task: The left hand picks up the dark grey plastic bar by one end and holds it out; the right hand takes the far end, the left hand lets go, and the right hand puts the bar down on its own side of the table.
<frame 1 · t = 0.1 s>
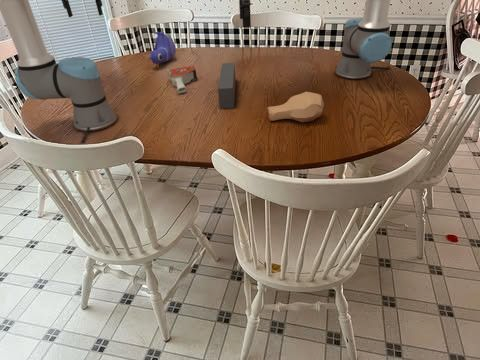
left hand: (86, 15, 157), 28 cm above the table, tool pointing down, fingers open, 13 cm apart
right hand: (245, 22, 131), 28 cm above the table, tool pointing down, fingers open, 13 cm apart
tape dispenser: (181, 84, 160), on the table
squash: (295, 119, 127), on the table
toy: (163, 63, 186), on the table
bar: (228, 93, 149), on the table
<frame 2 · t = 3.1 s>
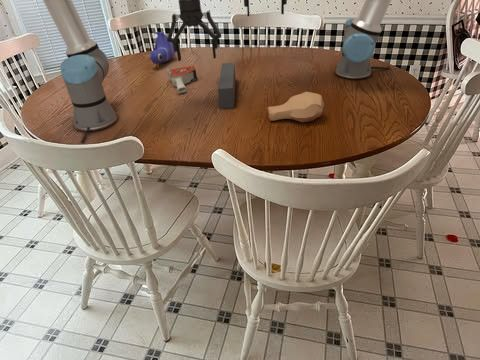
left hand: (197, 58, 138), 16 cm above the table, tool pointing down, fingers open, 13 cm apart
right hand: (265, 14, 142), 28 cm above the table, tool pointing down, fingers open, 13 cm apart
nothing on the table moved.
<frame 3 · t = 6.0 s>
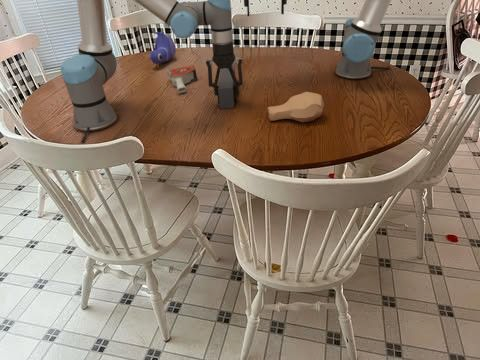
left hand: (227, 102, 141), 1 cm above the table, tool pointing down, fingers closed on bar, 6 cm apart
right hand: (265, 14, 142), 28 cm above the table, tool pointing down, fingers open, 13 cm apart
bar: (228, 93, 149), on the table, touching left hand
everything else where it was.
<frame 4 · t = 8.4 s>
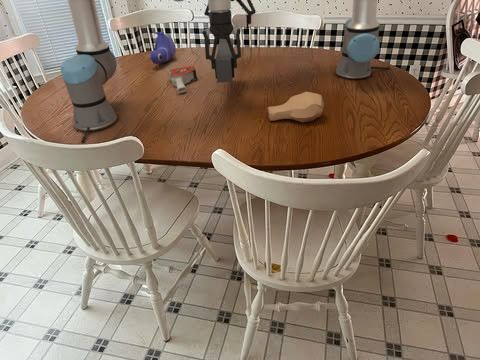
left hand: (225, 76, 135), 11 cm above the table, tool pointing down, fingers closed on bar, 6 cm apart
right hand: (231, 33, 145), 21 cm above the table, tool pointing down, fingers open, 13 cm apart
bar: (226, 69, 143), point 10 cm above the table, touching left hand
everything else where it was.
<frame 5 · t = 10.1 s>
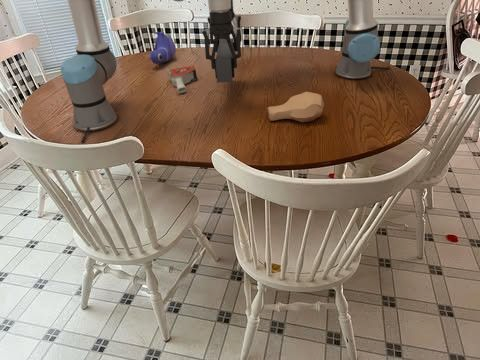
left hand: (225, 76, 134), 11 cm above the table, tool pointing down, fingers closed on bar, 6 cm apart
right hand: (227, 59, 151), 11 cm above the table, tool pointing down, fingers closed on bar, 6 cm apart
bar: (226, 69, 143), point 10 cm above the table, touching left hand, right hand
everything else where it was.
when the left hand's fingers open (11 cm above the table, at t = 10.9 s): bar stays where it is, held by the right hand.
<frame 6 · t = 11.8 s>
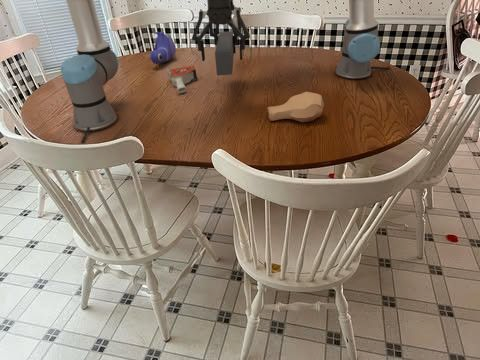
left hand: (222, 59, 129), 18 cm above the table, tool pointing down, fingers open, 13 cm apart
right hand: (227, 52, 149), 14 cm above the table, tool pointing down, fingers closed on bar, 6 cm apart
bar: (226, 62, 141), point 13 cm above the table, touching right hand
everything else where it was.
when the right hand's fingers open (2 cm above the table, at t = 15.4 s): bar drops 1 cm, on the table.
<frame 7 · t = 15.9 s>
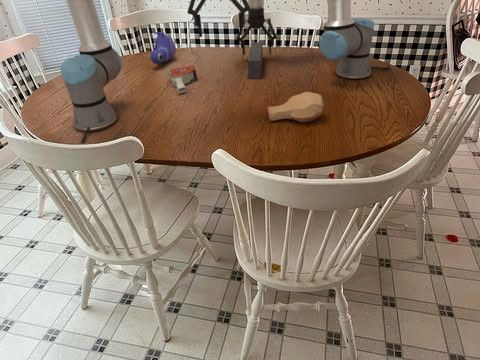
left hand: (220, 35, 120), 27 cm above the table, tool pointing down, fingers open, 13 cm apart
right hand: (257, 53, 179), 4 cm above the table, tool pointing down, fingers open, 12 cm apart
bar: (256, 67, 173), on the table
everything else where it was.
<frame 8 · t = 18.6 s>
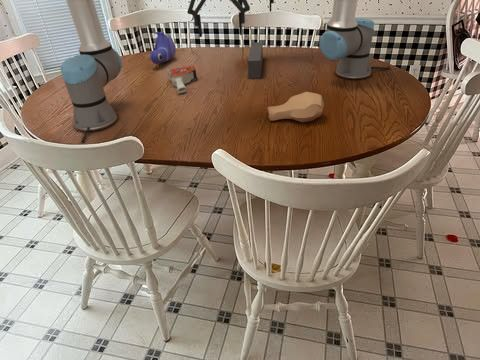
left hand: (220, 35, 120), 27 cm above the table, tool pointing down, fingers open, 13 cm apart
right hand: (256, 11, 168), 23 cm above the table, tool pointing down, fingers open, 13 cm apart
nothing on the table moved.
at the end: bar inside the target area (10.2 cm from its centre), on the table; the left hand is holding nothing; the right hand is holding nothing; bar at rest at the end (0.0 cm/s) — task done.
